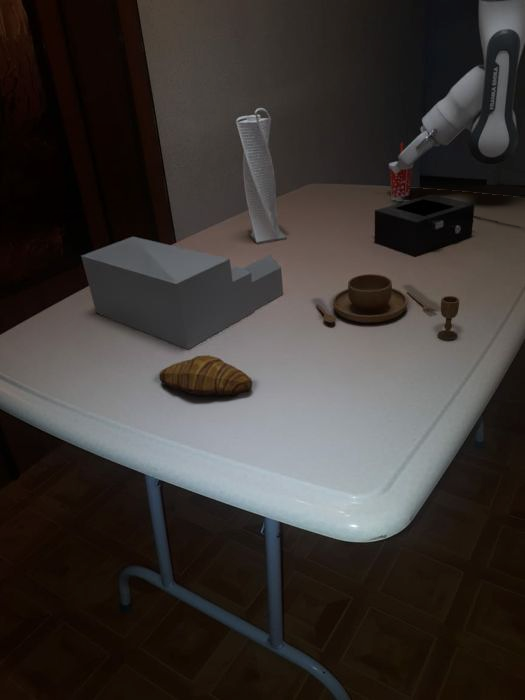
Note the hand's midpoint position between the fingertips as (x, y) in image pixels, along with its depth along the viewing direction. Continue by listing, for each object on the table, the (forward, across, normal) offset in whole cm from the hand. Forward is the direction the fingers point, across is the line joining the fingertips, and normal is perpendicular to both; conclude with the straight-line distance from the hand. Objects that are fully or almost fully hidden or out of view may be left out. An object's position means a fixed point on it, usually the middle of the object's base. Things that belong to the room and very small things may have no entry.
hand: (398, 167), depth 143 cm
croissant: (+6, -95, -6) cm, 95 cm away
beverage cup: (+5, 0, -6) cm, 8 cm away
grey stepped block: (+18, -72, +7) cm, 75 cm away
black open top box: (-4, -30, -15) cm, 34 cm away
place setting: (-6, -68, -17) cm, 71 cm away
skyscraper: (+20, -36, +9) cm, 42 cm away
